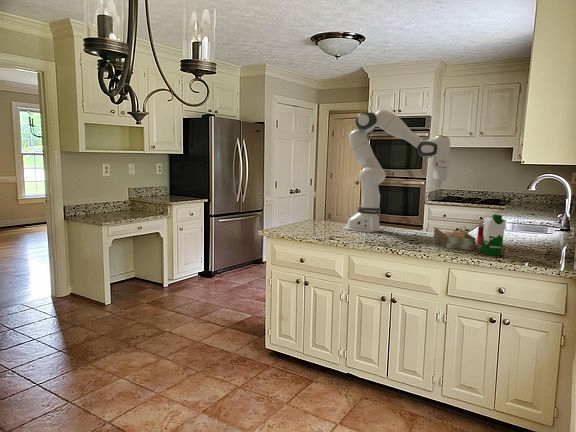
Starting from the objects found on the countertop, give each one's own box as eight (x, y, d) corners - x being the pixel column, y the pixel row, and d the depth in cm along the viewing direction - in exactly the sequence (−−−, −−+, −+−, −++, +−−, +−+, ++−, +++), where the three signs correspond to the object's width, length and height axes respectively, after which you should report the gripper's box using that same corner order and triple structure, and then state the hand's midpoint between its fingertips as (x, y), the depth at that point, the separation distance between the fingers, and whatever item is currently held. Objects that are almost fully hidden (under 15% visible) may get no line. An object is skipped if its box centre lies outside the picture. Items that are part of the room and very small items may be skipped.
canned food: (483, 246, 235) (485, 226, 234) (473, 243, 243) (475, 223, 241) (495, 246, 237) (497, 226, 236) (484, 242, 245) (487, 223, 243)
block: (454, 240, 228) (454, 232, 227) (451, 238, 232) (452, 231, 232) (464, 240, 227) (464, 233, 226) (461, 238, 232) (462, 231, 231)
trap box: (444, 247, 227) (445, 236, 226) (433, 237, 254) (434, 227, 253) (474, 249, 225) (475, 238, 224) (460, 239, 252) (461, 229, 251)
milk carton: (486, 255, 213) (491, 215, 210) (477, 251, 222) (482, 212, 218) (503, 256, 213) (508, 216, 210) (494, 252, 222) (499, 213, 219)
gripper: (431, 162, 264) (429, 185, 266) (438, 163, 244) (436, 188, 246) (442, 163, 263) (440, 186, 265) (450, 164, 243) (447, 188, 245)
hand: (438, 187), depth 255 cm, fingers closed
